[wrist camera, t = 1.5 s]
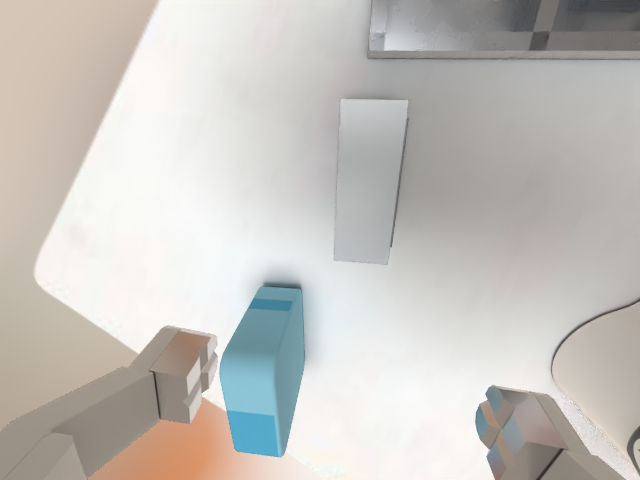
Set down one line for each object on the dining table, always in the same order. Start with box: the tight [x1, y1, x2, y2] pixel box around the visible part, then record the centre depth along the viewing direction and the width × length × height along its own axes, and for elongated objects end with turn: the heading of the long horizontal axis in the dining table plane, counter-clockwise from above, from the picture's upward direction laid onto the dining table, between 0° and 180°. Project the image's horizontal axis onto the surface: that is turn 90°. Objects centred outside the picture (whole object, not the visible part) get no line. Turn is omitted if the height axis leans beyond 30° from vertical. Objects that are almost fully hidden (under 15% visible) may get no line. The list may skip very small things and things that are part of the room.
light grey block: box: [334, 99, 409, 265], centre depth 24 cm, size 4×11×8 cm, turn 179°
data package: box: [220, 287, 305, 457], centre depth 31 cm, size 12×4×12 cm, turn 1°
